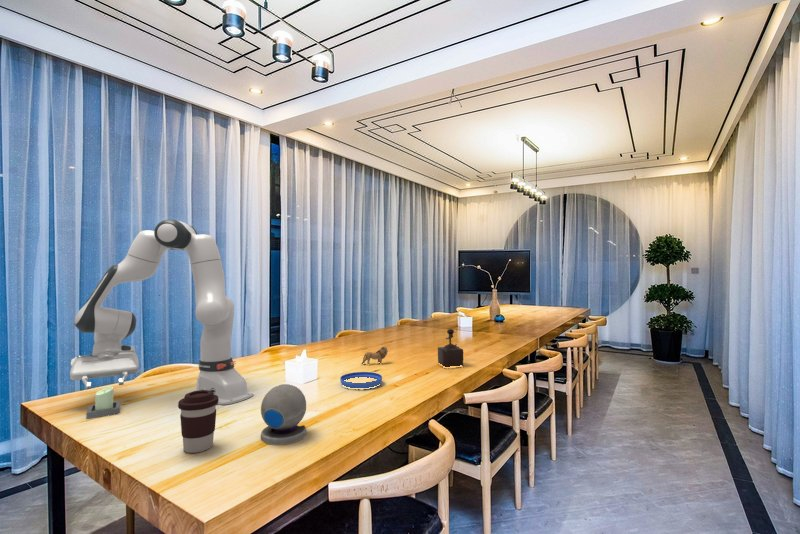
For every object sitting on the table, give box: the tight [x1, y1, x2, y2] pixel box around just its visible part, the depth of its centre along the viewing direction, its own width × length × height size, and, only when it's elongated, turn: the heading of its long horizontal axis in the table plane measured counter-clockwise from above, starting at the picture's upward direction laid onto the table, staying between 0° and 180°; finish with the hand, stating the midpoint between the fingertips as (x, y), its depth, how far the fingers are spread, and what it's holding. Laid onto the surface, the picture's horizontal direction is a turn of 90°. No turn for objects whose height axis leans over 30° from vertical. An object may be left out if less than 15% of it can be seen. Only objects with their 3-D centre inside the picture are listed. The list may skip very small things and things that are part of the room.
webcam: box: [260, 383, 307, 446], centre depth 118 cm, size 13×13×15 cm
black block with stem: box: [437, 328, 464, 367], centre depth 208 cm, size 16×11×18 cm
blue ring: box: [339, 371, 383, 388], centre depth 172 cm, size 18×18×4 cm
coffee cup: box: [177, 390, 219, 454], centre depth 110 cm, size 10×10×15 cm
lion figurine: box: [361, 346, 388, 365], centre depth 209 cm, size 15×5×9 cm, turn 112°
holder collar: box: [85, 400, 122, 420], centre depth 137 cm, size 9×9×2 cm
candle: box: [94, 386, 114, 411], centre depth 137 cm, size 5×5×8 cm
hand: (104, 386), depth 141 cm, fingers open, 8 cm apart
